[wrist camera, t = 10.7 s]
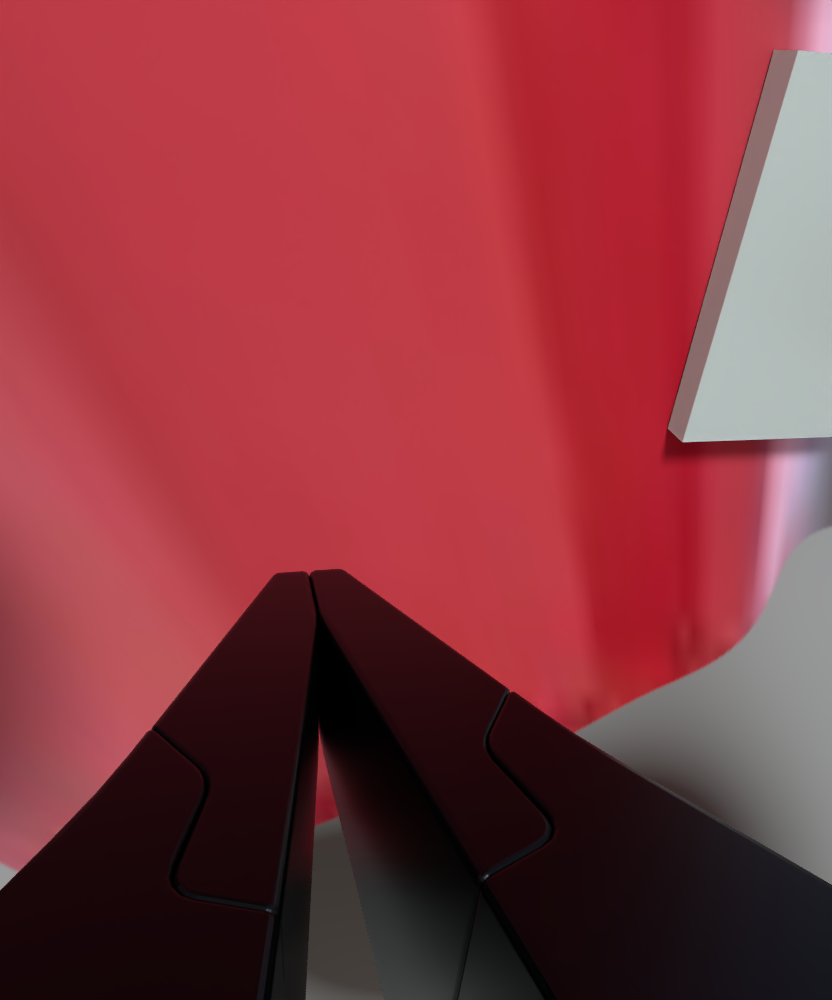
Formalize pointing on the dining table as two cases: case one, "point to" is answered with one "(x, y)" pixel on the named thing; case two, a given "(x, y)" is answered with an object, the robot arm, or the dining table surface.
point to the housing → (771, 276)
